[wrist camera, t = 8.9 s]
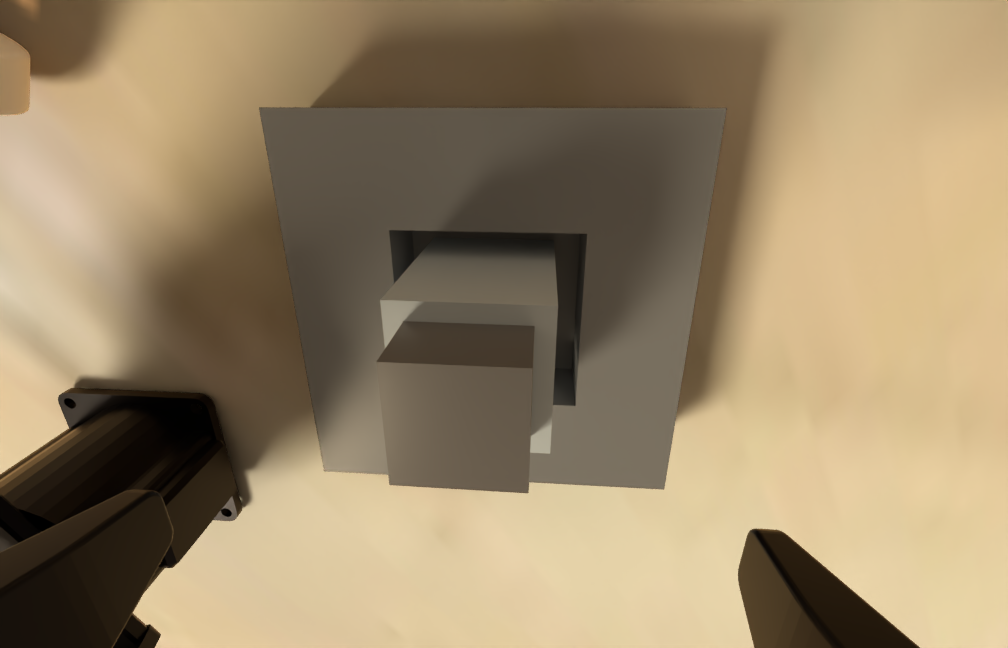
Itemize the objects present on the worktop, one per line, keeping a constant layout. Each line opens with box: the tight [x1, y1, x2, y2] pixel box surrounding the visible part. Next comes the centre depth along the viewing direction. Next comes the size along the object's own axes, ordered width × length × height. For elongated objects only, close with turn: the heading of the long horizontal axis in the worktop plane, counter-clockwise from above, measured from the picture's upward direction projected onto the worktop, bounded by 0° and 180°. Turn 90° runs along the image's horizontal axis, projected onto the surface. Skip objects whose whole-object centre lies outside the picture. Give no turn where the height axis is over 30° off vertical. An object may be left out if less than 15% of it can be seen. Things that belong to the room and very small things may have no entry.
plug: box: [376, 237, 558, 493], centre depth 14 cm, size 4×4×8 cm
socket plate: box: [259, 108, 727, 489], centre depth 16 cm, size 12×12×3 cm
